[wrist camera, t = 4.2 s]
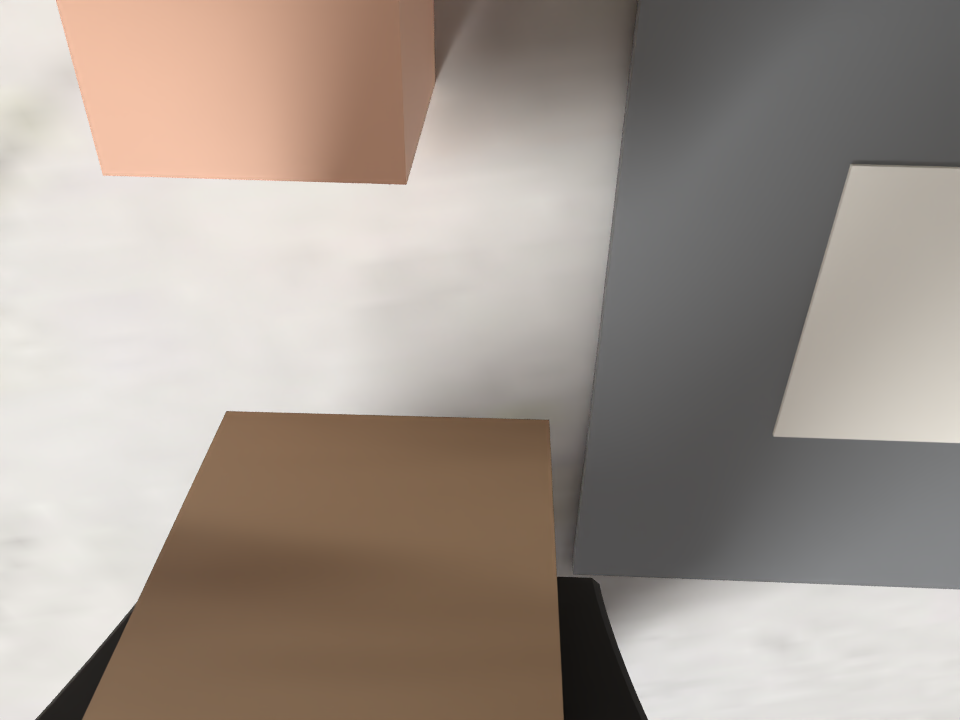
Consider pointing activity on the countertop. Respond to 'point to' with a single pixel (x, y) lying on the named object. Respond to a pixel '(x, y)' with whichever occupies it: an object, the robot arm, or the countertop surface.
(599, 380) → the grey mat
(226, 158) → the terracotta block
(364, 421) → the walnut block
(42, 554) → the countertop surface
